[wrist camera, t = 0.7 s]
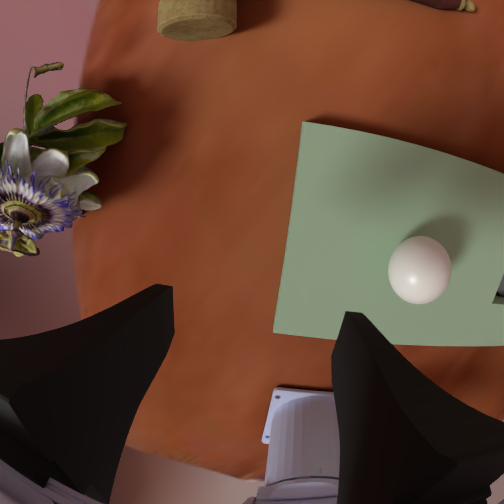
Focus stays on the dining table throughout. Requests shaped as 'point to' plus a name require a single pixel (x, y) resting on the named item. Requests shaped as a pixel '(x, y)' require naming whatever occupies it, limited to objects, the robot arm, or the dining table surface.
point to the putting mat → (390, 239)
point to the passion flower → (51, 165)
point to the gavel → (231, 17)
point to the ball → (419, 270)
